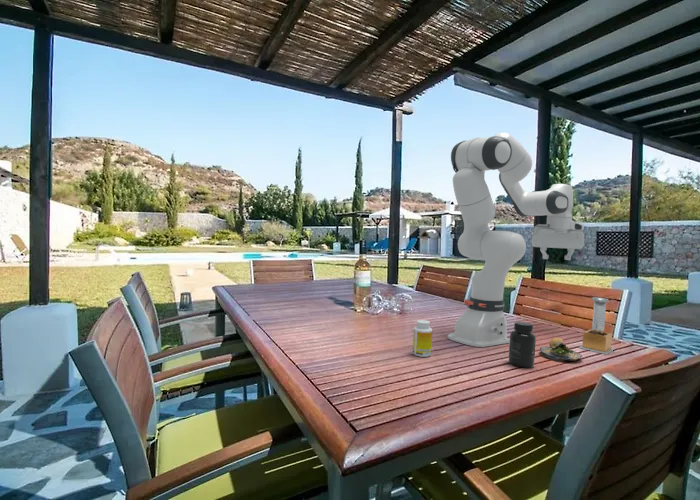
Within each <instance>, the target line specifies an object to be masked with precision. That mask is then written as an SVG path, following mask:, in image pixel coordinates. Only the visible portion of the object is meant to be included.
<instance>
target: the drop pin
mask: <svg viewBox="0 0 700 500" xmlns="http://www.w3.org/2000/svg"><path fill="white" fill-rule="evenodd" d="M591 300H592V301H593V313H592V324H591V330H592V333H593V334H598V335H602V336H604V332H605V324H606V323H605V322H606V312H607V310H606V309H607V303H609V302H610V301H609V298H604V297H599V296H597V297H594V296H593V297H591Z"/></svg>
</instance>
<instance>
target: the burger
mask: <svg viewBox="0 0 700 500" xmlns="http://www.w3.org/2000/svg"><path fill="white" fill-rule="evenodd" d="M553 333H554V332H551V334H552V336H553V338H552V339H551V340H550V341H549V346H541V347H539V350H540V352H538V354H539V355H540V356H541V357H543V358H545V359H547V360H549V361H555V362H558V363H564V362H565V361H577V360H579V359H582V357H583V355H582V354H581V353H579V352H577V351H575V350H573V349H570V348H569V347H568V346H567V344H565V343H563V341H564V339H563V338H561V337H554V334H553Z"/></svg>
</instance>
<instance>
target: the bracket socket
mask: <svg viewBox="0 0 700 500" xmlns="http://www.w3.org/2000/svg"><path fill="white" fill-rule="evenodd" d="M612 343H613V333H610V332H605V331H604V336H602V335H598V334H593V333H592V328H591V329H588V330H585V331H583V334H582V344H581V345H579V346H578V347H579V349H581V350H585V349H586V350H585V351H589V350H590V351H591V352H594V353H598V354H603V355H609V354H610V353H612V352H614V351H615V348H613V347H612ZM613 350H614V351H613Z"/></svg>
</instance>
